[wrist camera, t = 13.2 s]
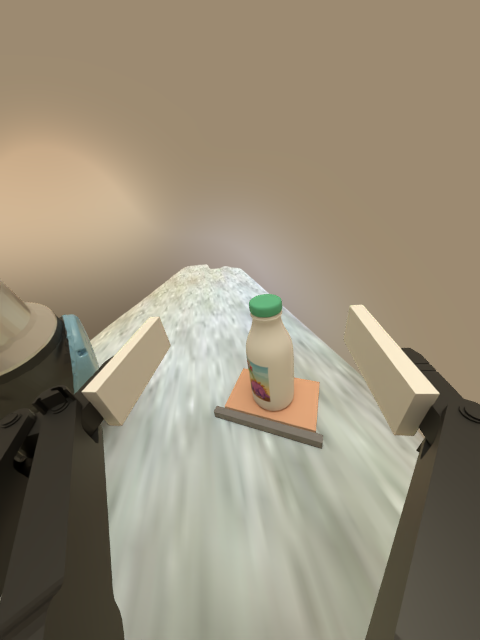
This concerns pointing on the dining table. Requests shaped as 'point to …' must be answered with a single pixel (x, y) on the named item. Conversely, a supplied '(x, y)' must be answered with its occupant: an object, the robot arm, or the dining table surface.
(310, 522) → the dining table surface
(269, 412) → the tile
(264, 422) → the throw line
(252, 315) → the milk bottle
